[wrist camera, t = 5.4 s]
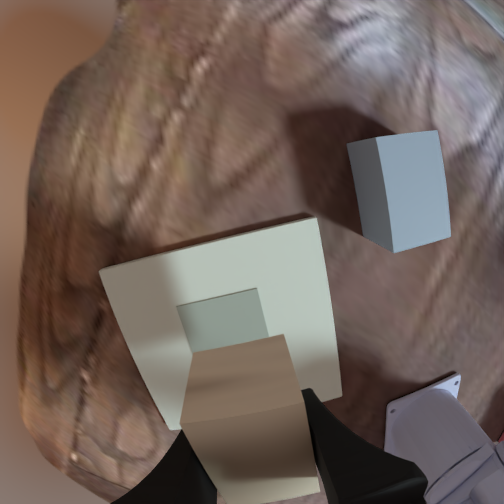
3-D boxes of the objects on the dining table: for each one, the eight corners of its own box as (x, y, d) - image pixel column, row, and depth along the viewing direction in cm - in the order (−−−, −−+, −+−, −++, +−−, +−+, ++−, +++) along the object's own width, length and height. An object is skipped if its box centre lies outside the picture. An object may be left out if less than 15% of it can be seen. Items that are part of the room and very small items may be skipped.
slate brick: (413, 223, 20) (450, 236, 15) (362, 236, 20) (393, 253, 15) (399, 136, 18) (437, 130, 14) (345, 143, 18) (375, 137, 14)
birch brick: (302, 426, 15) (320, 491, 10) (228, 440, 15) (229, 507, 10) (283, 333, 13) (304, 401, 9) (192, 352, 13) (179, 423, 9)
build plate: (340, 391, 23) (342, 396, 22) (171, 425, 23) (169, 431, 22) (314, 216, 19) (317, 217, 18) (101, 268, 19) (97, 271, 18)
